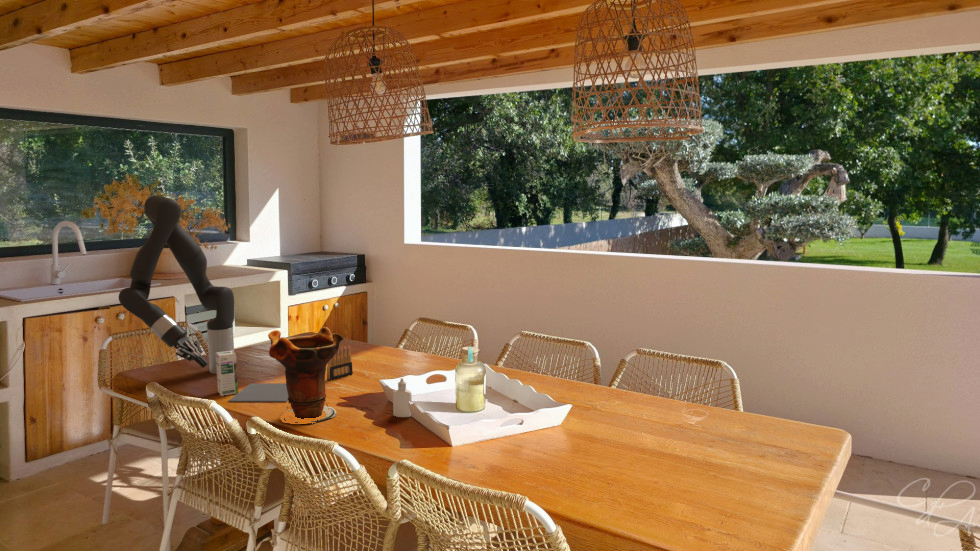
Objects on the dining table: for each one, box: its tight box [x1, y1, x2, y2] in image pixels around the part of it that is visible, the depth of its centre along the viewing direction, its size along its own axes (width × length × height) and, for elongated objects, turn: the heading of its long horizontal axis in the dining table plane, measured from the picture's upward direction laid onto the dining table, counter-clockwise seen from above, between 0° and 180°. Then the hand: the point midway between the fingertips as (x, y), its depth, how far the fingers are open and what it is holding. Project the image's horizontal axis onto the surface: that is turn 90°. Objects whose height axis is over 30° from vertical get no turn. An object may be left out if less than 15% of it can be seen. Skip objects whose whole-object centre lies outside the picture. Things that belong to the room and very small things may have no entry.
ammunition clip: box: [326, 343, 354, 381], centre depth 254 cm, size 11×2×12 cm, turn 141°
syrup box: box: [216, 350, 239, 397], centre depth 235 cm, size 6×6×14 cm
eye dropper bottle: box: [392, 377, 413, 418], centre depth 211 cm, size 4×6×12 cm
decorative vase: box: [267, 326, 345, 423], centre depth 211 cm, size 21×23×28 cm
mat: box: [228, 382, 289, 403], centre depth 235 cm, size 20×19×1 cm
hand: (206, 365), depth 235 cm, fingers closed
